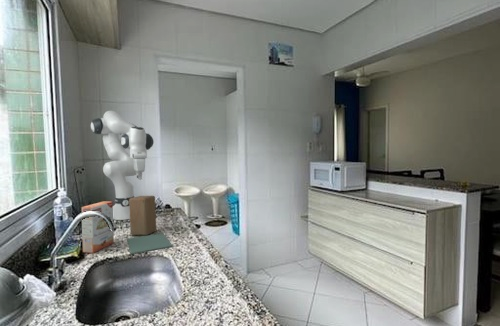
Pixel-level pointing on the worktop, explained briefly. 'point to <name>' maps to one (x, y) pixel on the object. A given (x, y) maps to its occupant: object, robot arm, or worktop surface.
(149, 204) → the wooden block
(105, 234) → the cracker box
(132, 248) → the mat
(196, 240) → the worktop surface
